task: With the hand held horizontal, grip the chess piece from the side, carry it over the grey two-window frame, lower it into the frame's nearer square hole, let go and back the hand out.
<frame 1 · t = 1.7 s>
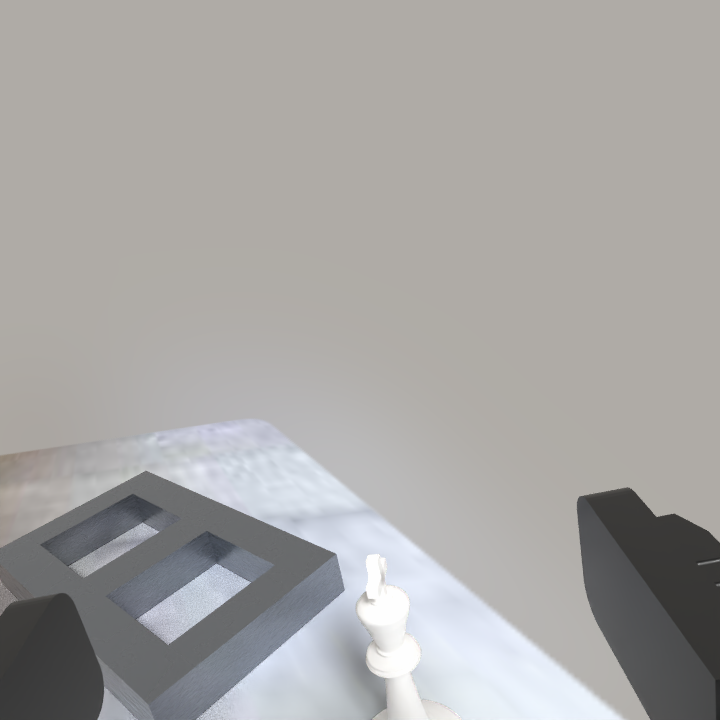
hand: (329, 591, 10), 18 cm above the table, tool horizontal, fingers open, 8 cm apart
grey two-window frame: (158, 586, 41), on the table
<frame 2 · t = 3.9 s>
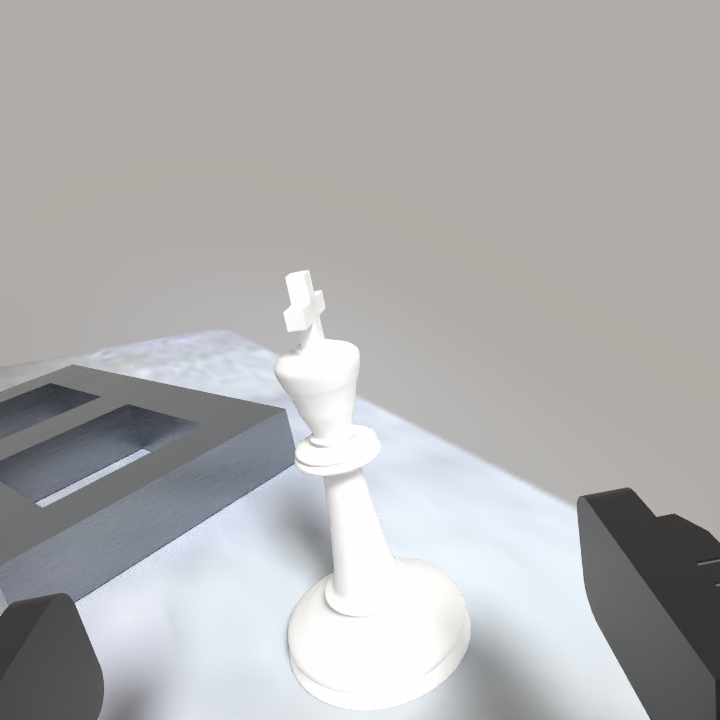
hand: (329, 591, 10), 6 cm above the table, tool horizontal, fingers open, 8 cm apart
chess piece: (381, 640, 17), on the table
grey two-window frame: (64, 474, 32), on the table
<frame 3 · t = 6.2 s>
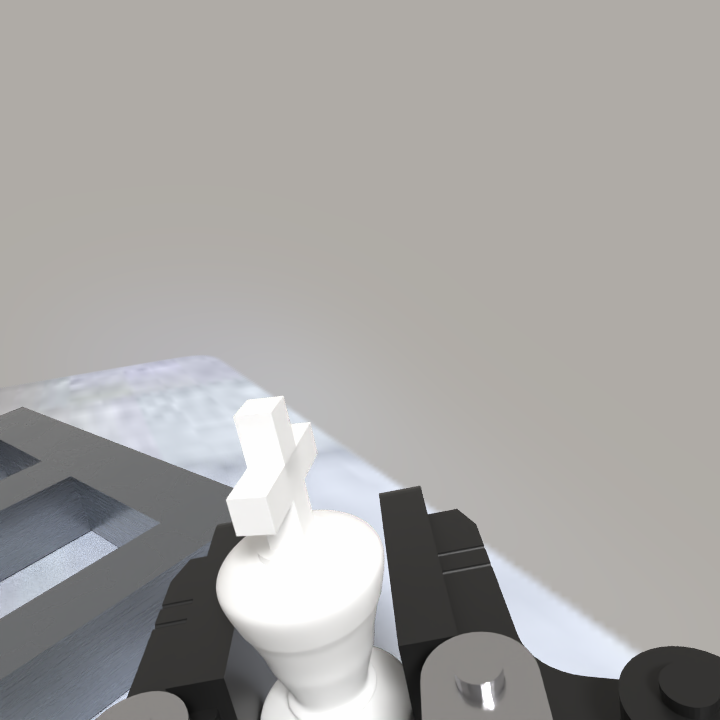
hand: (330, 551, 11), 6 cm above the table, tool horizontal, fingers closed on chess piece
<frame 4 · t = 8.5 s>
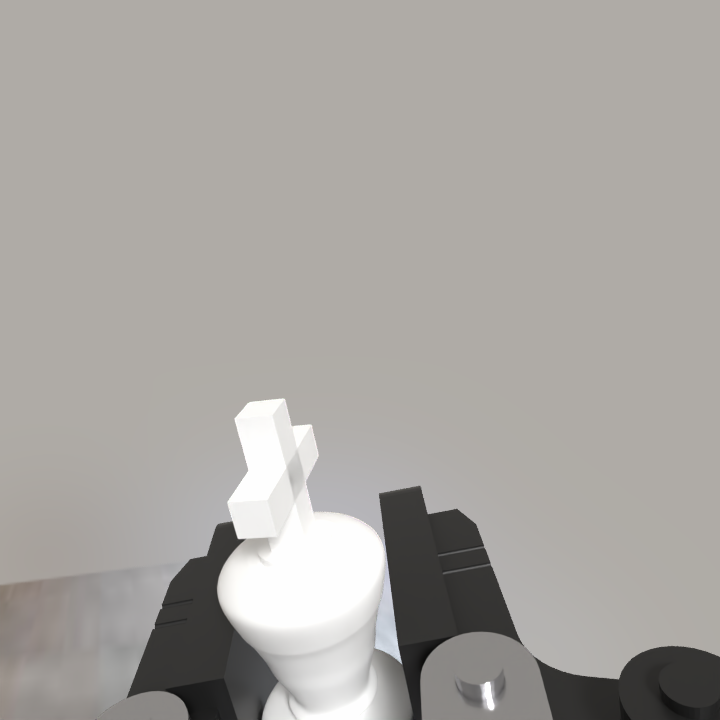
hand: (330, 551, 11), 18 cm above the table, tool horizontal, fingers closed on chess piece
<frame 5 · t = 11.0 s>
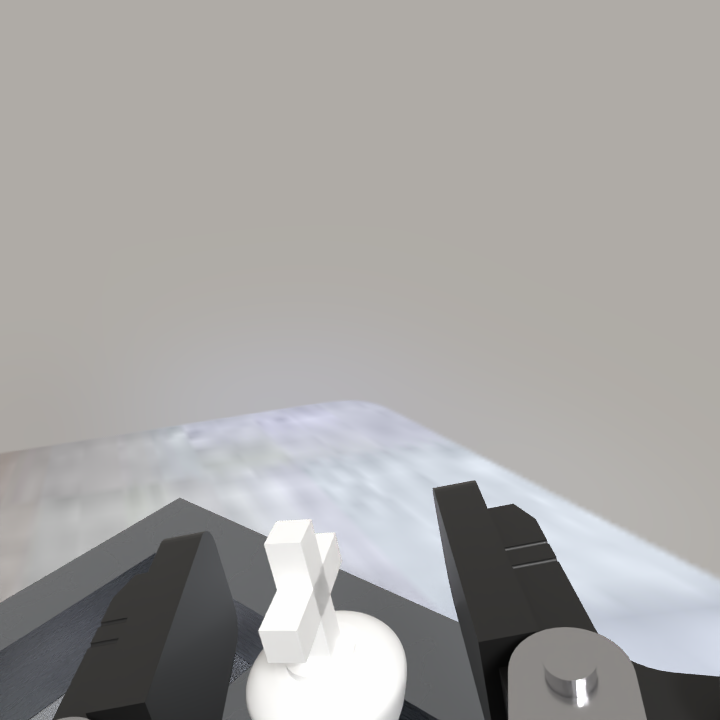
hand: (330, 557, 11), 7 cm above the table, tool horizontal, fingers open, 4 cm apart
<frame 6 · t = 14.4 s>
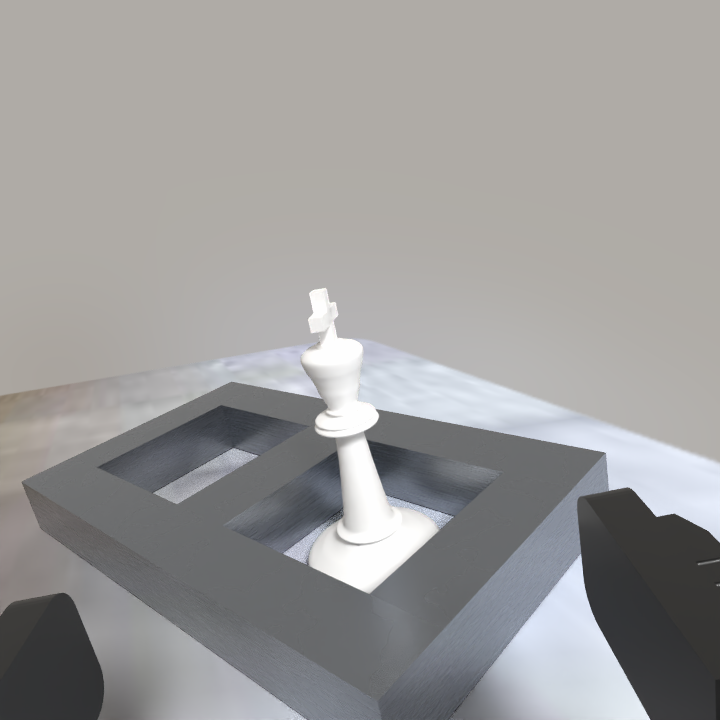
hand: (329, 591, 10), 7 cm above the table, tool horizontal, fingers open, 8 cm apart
chess piece: (379, 566, 23), resting in grey two-window frame
grey two-window frame: (285, 522, 26), on the table
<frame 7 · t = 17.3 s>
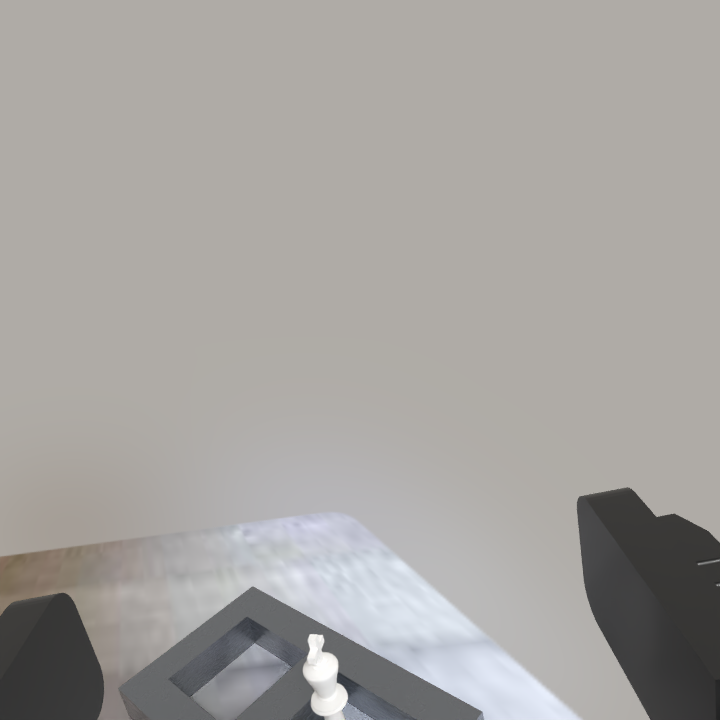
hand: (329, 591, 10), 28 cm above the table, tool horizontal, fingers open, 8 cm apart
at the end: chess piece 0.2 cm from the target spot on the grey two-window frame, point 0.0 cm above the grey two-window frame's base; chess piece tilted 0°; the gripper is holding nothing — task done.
